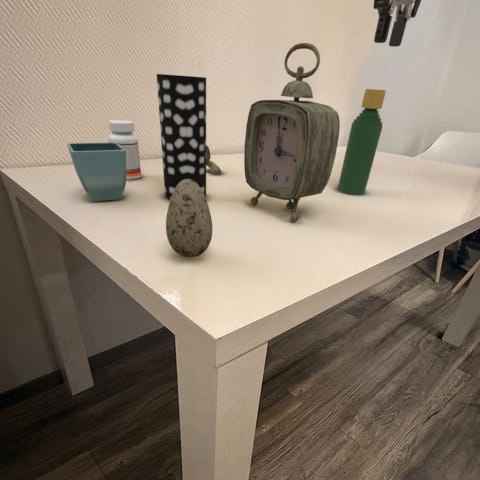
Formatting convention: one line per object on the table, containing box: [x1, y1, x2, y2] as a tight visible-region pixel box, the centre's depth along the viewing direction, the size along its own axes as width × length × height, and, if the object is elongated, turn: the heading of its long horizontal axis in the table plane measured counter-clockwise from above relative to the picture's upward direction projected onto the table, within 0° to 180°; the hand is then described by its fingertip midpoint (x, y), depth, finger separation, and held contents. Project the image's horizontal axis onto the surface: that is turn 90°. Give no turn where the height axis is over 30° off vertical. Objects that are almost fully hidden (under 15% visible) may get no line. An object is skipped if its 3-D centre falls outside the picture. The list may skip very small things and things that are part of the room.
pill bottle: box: [108, 119, 142, 181], centre depth 75 cm, size 6×6×11 cm
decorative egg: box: [165, 179, 213, 259], centre depth 42 cm, size 6×6×10 cm
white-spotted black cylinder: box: [156, 73, 207, 201], centre depth 62 cm, size 8×8×20 cm
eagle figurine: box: [206, 144, 223, 176], centre depth 86 cm, size 8×7×9 cm
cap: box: [361, 88, 387, 110], centre depth 69 cm, size 4×4×3 cm
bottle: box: [337, 108, 384, 196], centre depth 74 cm, size 6×6×20 cm
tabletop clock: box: [243, 42, 341, 223], centre depth 57 cm, size 14×9×25 cm, turn 40°
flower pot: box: [66, 142, 127, 202], centre depth 62 cm, size 9×9×9 cm
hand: (387, 44), depth 64 cm, fingers open, 5 cm apart
